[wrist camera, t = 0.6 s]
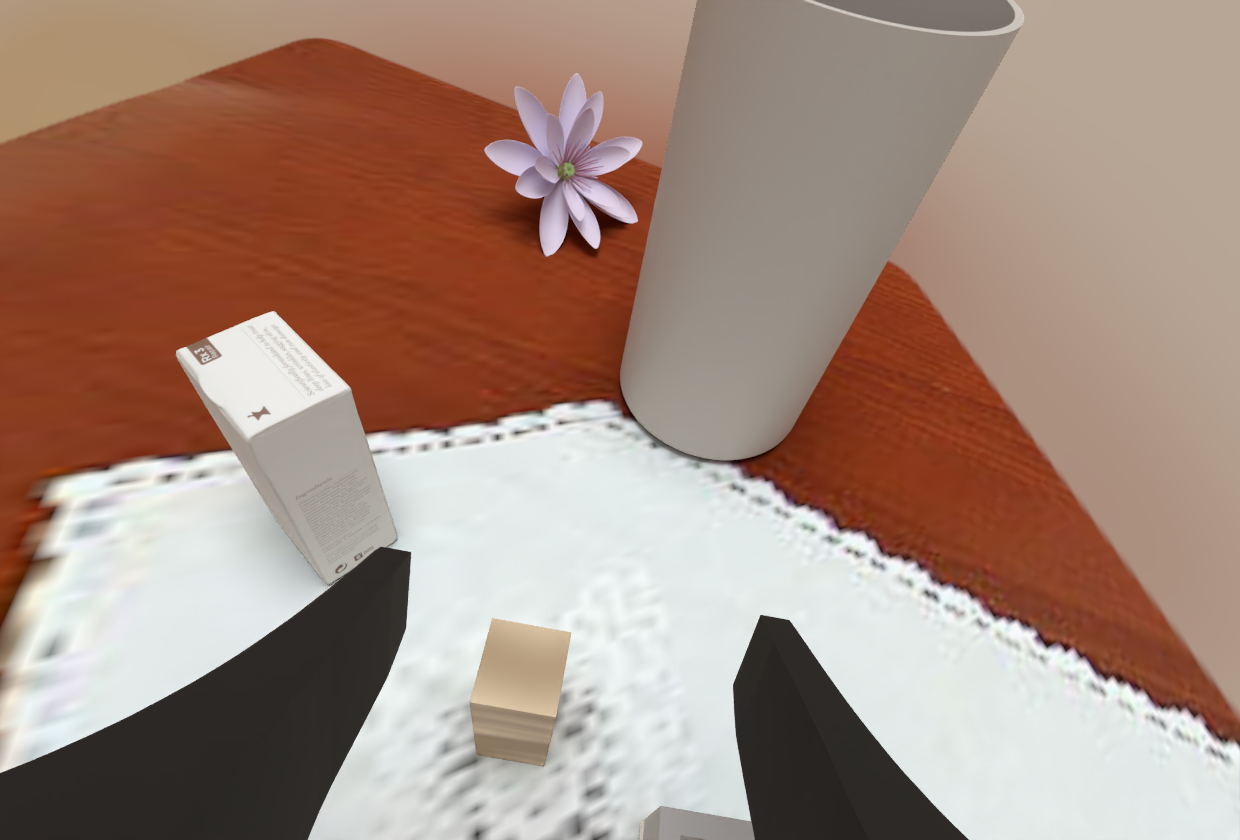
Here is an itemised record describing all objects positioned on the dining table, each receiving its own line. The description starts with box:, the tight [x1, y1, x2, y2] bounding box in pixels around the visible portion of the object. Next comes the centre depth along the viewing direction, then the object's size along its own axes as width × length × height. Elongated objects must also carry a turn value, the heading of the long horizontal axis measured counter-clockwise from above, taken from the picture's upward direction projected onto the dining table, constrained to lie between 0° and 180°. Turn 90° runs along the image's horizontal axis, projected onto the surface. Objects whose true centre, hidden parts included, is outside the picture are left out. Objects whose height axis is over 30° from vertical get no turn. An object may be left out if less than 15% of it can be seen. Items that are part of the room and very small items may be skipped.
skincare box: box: [176, 311, 397, 584], centre depth 29 cm, size 6×4×12 cm
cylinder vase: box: [620, 0, 1024, 460], centre depth 34 cm, size 12×12×25 cm
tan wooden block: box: [470, 618, 571, 766], centre depth 25 cm, size 3×3×8 cm
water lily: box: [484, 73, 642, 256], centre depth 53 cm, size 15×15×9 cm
